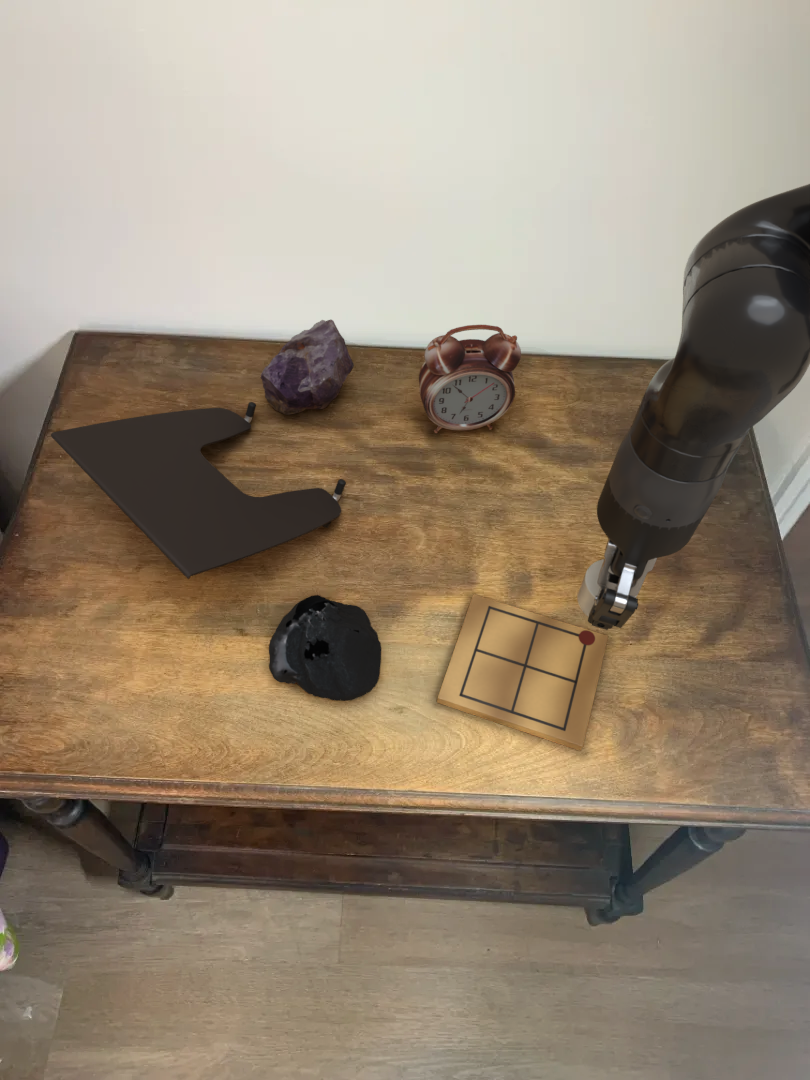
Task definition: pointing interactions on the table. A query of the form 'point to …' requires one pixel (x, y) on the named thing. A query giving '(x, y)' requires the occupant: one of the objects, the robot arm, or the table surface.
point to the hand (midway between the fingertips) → (605, 597)
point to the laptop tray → (191, 487)
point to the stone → (590, 587)
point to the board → (525, 671)
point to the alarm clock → (468, 379)
